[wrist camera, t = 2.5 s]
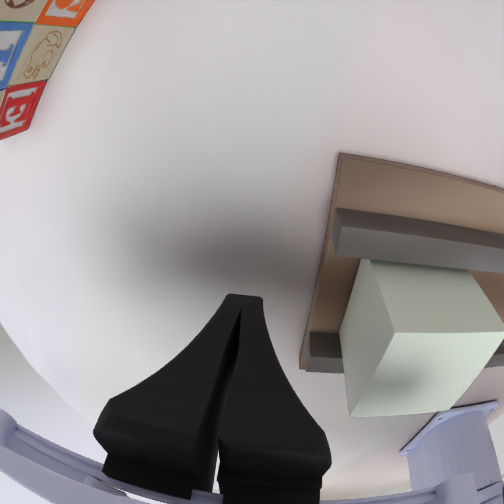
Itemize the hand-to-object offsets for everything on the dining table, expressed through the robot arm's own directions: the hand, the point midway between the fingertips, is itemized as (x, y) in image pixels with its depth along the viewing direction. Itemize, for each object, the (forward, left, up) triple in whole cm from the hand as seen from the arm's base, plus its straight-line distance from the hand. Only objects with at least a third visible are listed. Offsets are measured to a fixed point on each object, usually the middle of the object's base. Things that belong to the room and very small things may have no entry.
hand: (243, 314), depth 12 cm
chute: (0, -14, -3) cm, 15 cm away
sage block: (0, -7, -2) cm, 7 cm away
